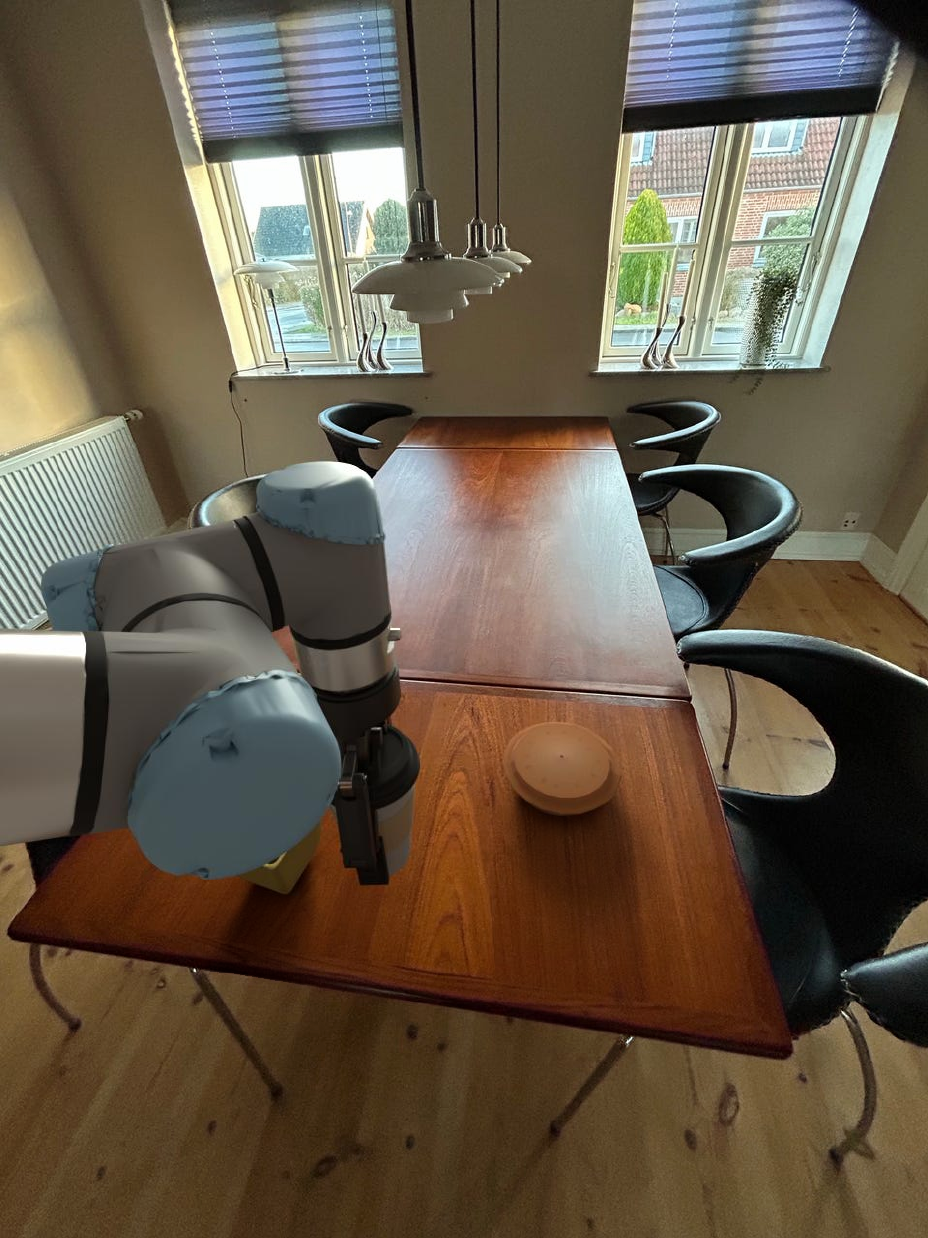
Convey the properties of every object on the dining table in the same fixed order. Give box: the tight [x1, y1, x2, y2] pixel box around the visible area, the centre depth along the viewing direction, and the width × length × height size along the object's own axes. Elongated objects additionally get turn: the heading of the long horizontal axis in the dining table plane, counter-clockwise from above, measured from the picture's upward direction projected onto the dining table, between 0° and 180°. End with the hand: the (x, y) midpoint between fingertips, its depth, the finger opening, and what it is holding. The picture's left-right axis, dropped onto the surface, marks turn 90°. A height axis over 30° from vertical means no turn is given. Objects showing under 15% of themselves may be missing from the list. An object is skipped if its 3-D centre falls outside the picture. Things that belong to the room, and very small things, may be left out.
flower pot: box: [235, 819, 323, 895], centre depth 61 cm, size 9×9×9 cm
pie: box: [501, 721, 623, 817], centre depth 71 cm, size 16×16×5 cm
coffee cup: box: [329, 724, 421, 878], centre depth 51 cm, size 9×9×15 cm
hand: (380, 839), depth 54 cm, fingers closed on coffee cup, 8 cm apart
